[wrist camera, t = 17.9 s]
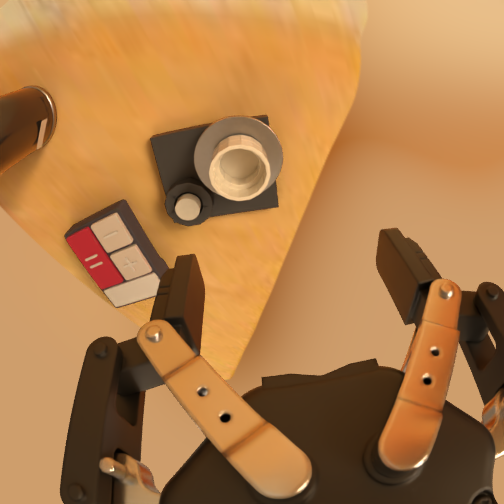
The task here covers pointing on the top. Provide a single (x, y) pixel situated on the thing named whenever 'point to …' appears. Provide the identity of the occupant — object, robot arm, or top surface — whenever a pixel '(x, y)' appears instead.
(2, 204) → the top surface
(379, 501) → the robot arm
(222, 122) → the pan
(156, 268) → the calculator
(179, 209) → the button
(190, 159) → the grey knob plate
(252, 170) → the bowl
